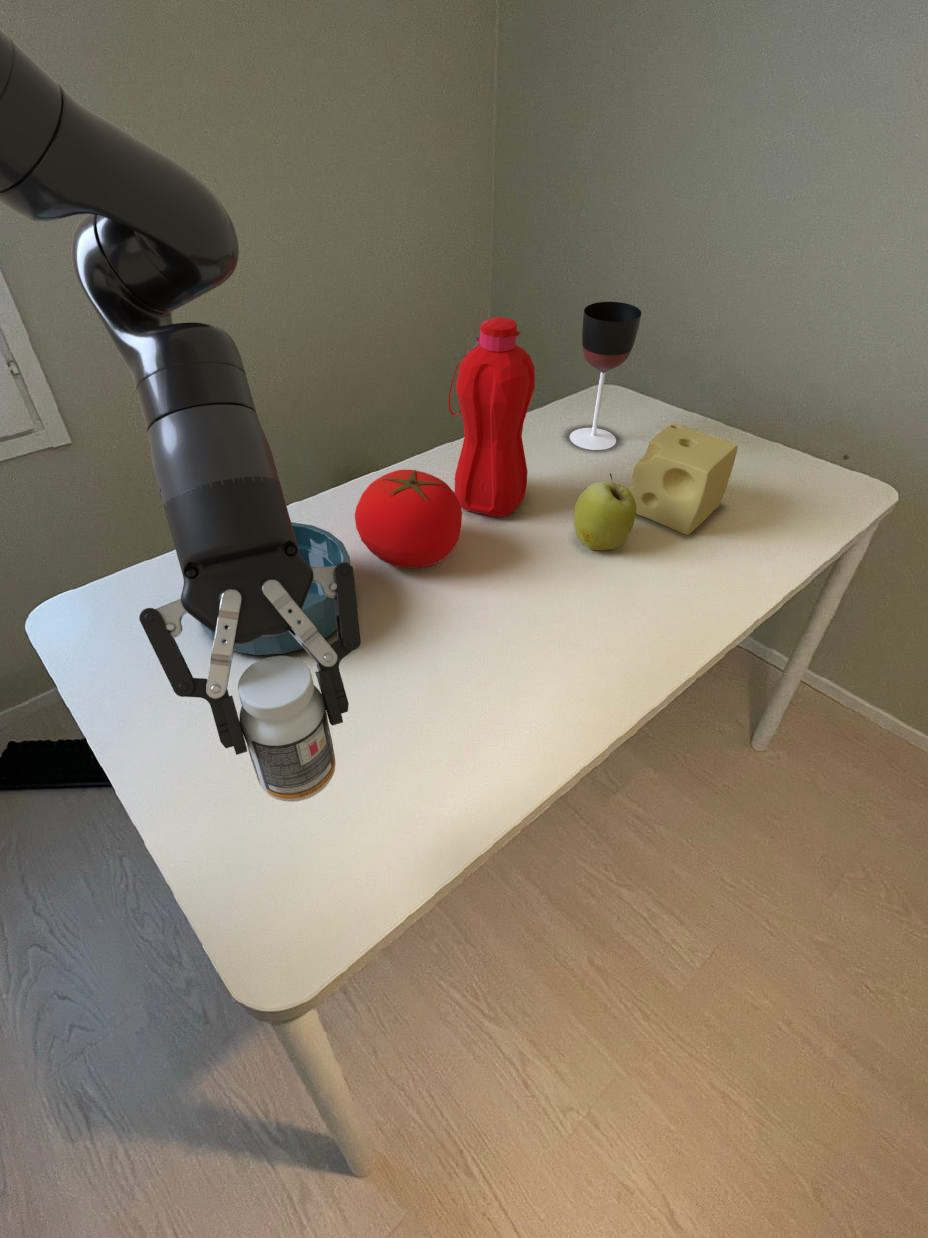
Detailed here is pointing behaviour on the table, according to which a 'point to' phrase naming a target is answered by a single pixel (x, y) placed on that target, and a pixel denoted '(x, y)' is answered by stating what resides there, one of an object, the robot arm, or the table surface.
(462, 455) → the water bottle
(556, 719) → the table surface
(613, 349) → the wineglass
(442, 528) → the tomato
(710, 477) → the cheese
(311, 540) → the bowl
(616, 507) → the apple
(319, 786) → the pill bottle
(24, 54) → the robot arm
